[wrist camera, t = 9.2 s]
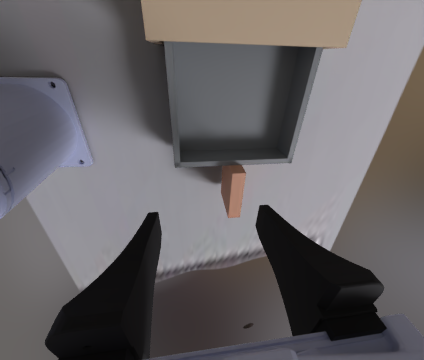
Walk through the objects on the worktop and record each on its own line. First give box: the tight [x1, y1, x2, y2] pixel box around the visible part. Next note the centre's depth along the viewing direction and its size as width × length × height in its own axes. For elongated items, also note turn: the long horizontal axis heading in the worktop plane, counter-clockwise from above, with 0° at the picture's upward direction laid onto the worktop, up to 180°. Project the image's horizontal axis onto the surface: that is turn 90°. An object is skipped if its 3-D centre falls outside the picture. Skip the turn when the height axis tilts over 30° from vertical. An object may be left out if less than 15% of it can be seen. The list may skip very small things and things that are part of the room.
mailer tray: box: [164, 41, 323, 218], centre depth 16 cm, size 20×11×4 cm, turn 178°
